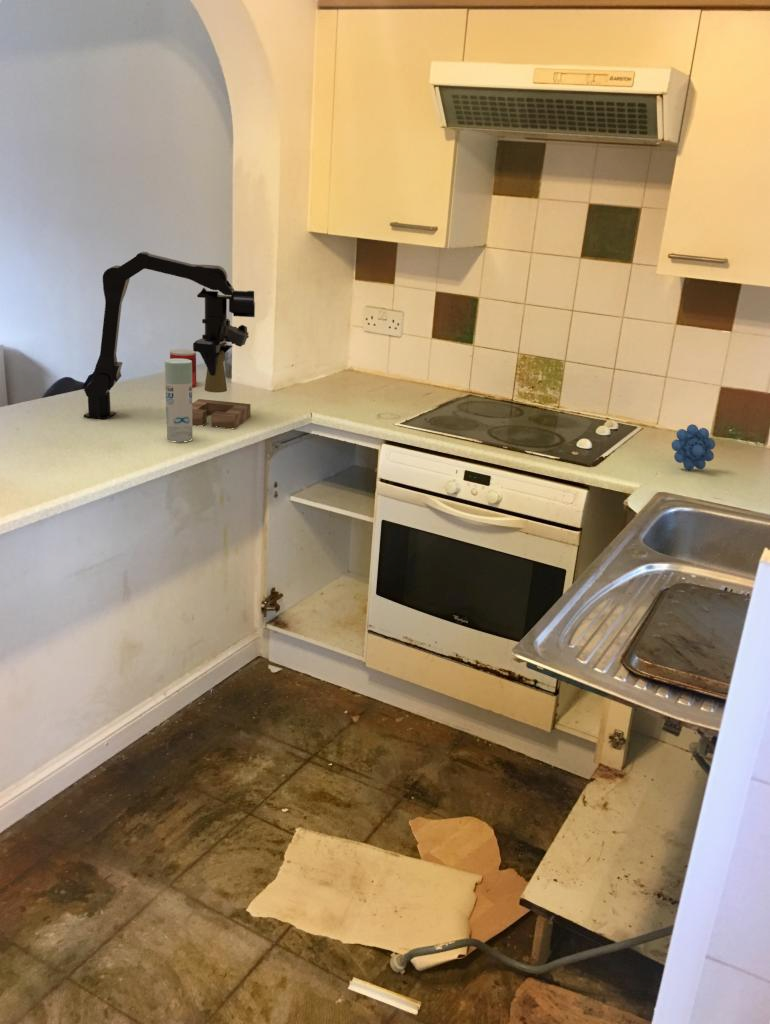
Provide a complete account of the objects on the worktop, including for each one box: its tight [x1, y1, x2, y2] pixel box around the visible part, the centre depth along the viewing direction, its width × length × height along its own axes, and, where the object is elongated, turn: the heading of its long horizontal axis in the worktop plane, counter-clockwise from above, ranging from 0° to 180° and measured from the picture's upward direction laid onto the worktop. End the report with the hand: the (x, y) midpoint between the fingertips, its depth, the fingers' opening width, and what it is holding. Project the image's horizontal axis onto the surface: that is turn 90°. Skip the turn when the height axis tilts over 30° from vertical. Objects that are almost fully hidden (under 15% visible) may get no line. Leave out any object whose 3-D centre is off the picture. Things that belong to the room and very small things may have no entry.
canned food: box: [169, 348, 197, 388], centre depth 274 cm, size 8×8×11 cm
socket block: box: [192, 398, 251, 429], centre depth 239 cm, size 15×15×4 cm
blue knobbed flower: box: [671, 423, 716, 471], centre depth 221 cm, size 12×7×12 cm, turn 95°
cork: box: [204, 350, 228, 394], centre depth 235 cm, size 6×6×11 cm
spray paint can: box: [164, 358, 193, 442], centre depth 216 cm, size 6×6×20 cm
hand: (215, 373), depth 235 cm, fingers closed on cork, 4 cm apart
